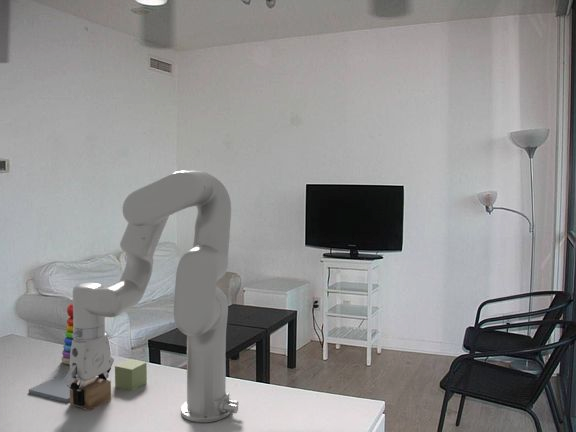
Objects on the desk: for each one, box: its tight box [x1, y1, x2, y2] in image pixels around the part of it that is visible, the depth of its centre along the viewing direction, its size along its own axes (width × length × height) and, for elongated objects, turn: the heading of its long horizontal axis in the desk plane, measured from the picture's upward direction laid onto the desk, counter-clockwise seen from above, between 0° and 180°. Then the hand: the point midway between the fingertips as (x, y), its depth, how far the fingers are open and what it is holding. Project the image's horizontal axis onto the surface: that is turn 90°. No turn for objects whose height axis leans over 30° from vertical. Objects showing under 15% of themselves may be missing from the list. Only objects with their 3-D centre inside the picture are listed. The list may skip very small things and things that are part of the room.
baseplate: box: [28, 371, 80, 404], centre depth 143 cm, size 14×14×1 cm
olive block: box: [114, 358, 148, 392], centre depth 145 cm, size 6×6×6 cm
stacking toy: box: [61, 302, 74, 366], centre depth 162 cm, size 8×8×19 cm
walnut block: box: [69, 376, 112, 411], centre depth 134 cm, size 7×7×5 cm
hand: (90, 398), depth 134 cm, fingers closed on walnut block, 7 cm apart
